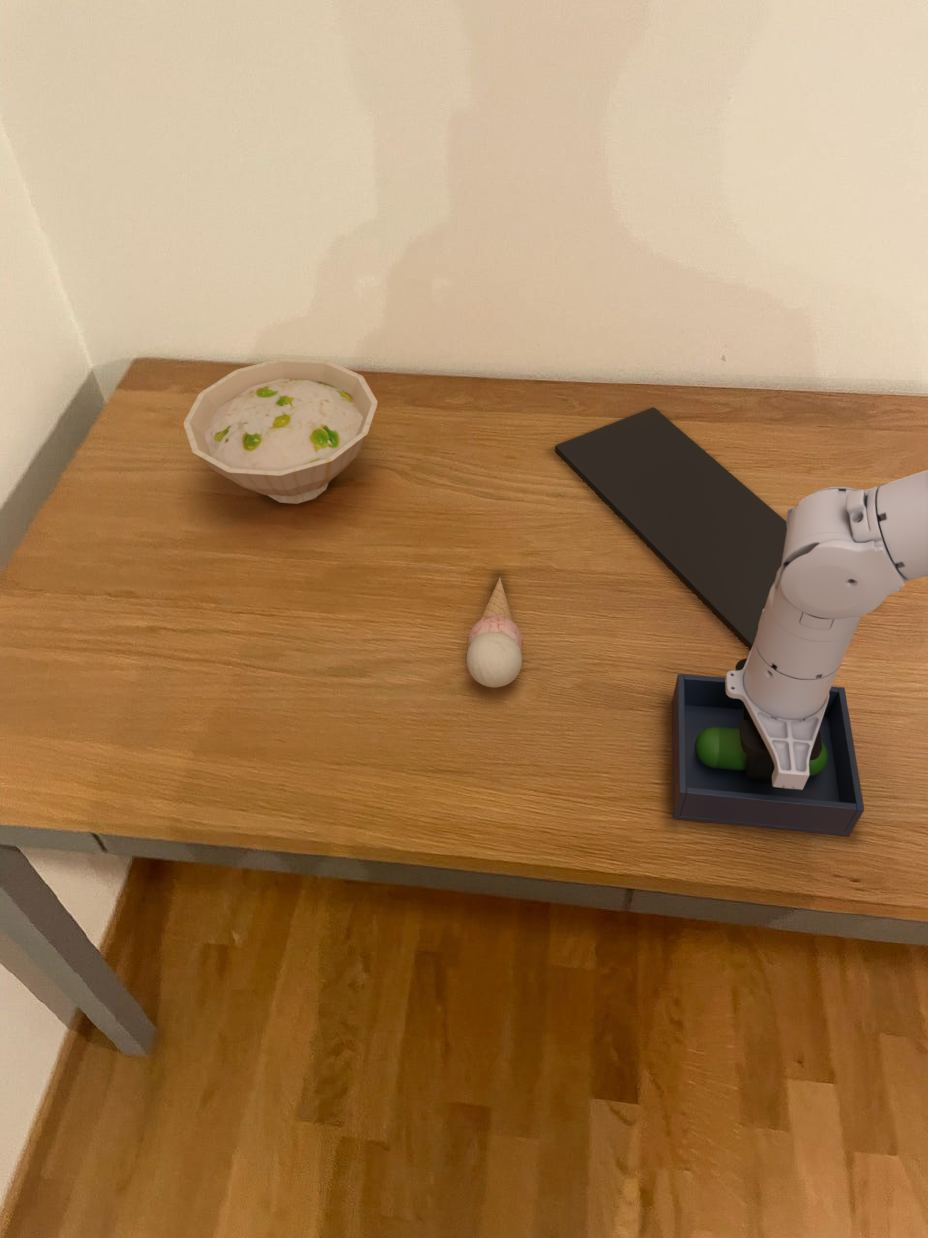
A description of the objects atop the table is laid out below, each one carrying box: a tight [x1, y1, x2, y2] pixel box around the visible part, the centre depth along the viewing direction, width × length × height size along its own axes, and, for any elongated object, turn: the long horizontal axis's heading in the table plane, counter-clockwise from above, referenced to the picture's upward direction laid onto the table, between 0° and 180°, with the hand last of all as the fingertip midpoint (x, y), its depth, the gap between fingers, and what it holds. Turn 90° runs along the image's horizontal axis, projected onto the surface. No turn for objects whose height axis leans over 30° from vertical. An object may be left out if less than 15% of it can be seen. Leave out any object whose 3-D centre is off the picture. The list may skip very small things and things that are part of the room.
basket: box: [671, 673, 865, 837], centre depth 72 cm, size 13×11×4 cm
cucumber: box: [695, 727, 828, 776], centre depth 72 cm, size 10×3×3 cm, turn 82°
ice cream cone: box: [465, 577, 524, 688], centre depth 82 cm, size 5×5×15 cm
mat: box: [554, 406, 787, 651], centre depth 92 cm, size 33×13×1 cm, turn 29°
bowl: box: [182, 357, 379, 505], centre depth 95 cm, size 19×19×10 cm
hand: (758, 756), depth 72 cm, fingers closed on cucumber, 3 cm apart
